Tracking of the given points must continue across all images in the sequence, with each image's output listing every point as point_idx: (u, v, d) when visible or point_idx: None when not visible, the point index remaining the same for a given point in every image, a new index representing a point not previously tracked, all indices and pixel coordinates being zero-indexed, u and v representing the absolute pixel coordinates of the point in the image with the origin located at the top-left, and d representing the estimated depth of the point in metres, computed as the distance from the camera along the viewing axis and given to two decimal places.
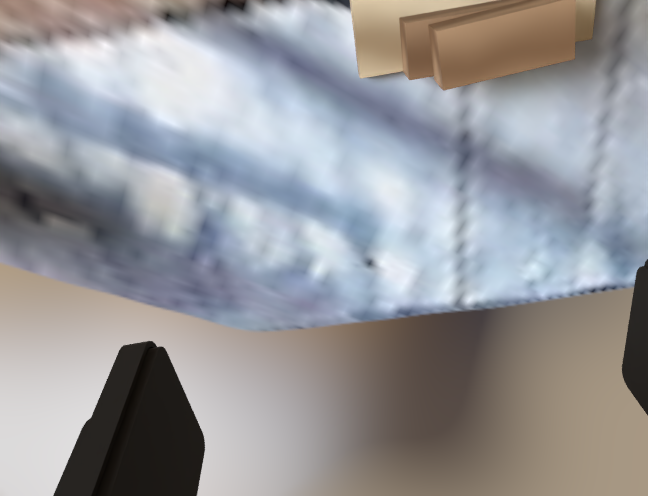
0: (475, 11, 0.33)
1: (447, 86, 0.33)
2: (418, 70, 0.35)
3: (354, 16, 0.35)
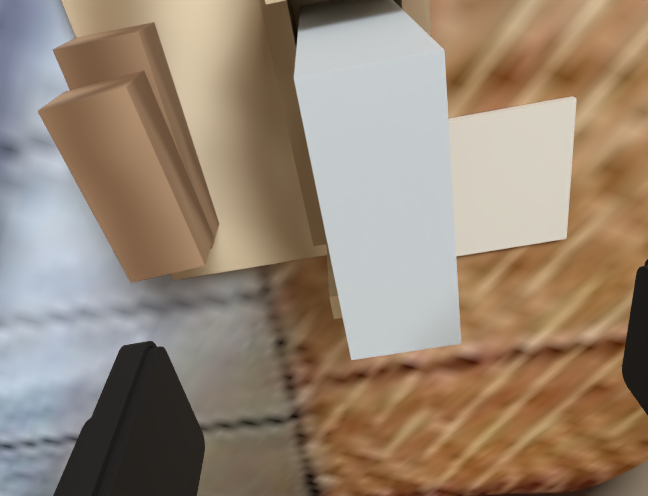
0: (174, 138, 0.23)
1: (45, 116, 0.20)
2: (72, 63, 0.21)
3: None
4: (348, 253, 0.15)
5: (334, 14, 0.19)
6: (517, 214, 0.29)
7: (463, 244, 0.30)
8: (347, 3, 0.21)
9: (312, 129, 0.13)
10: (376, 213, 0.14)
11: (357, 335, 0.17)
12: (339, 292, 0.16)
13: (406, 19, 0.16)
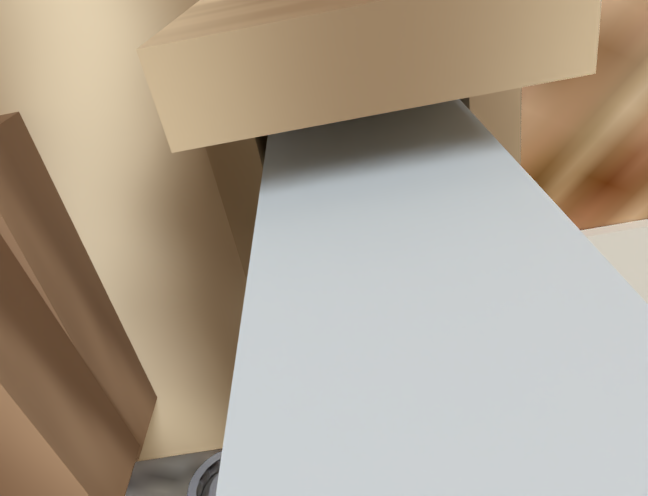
0: (58, 312, 0.13)
1: None
2: None
3: None
4: None
5: (339, 126, 0.09)
6: None
7: None
8: None
9: None
10: None
11: None
12: None
13: (529, 193, 0.06)
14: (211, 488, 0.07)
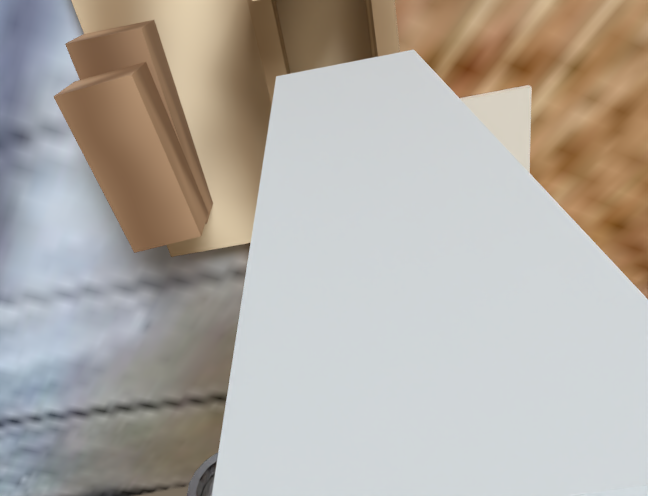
0: (173, 122, 0.26)
1: (60, 101, 0.23)
2: (82, 55, 0.24)
3: None
4: None
5: (336, 113, 0.10)
6: None
7: None
8: (357, 80, 0.12)
9: None
10: None
11: None
12: None
13: (508, 166, 0.07)
14: (211, 488, 0.07)
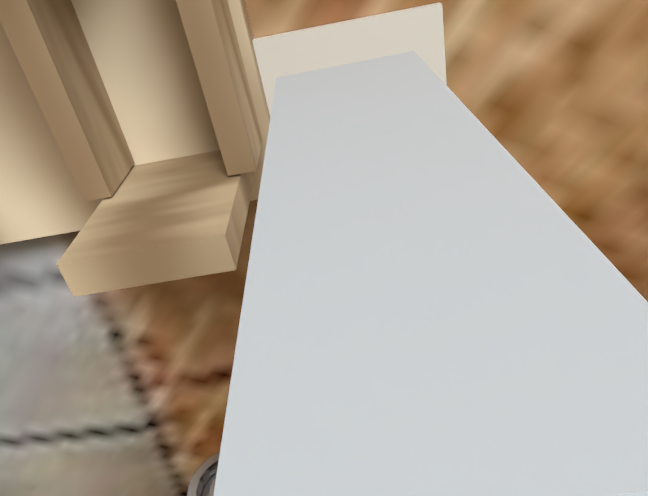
0: None
1: None
2: None
3: None
4: None
5: (336, 114, 0.10)
6: None
7: None
8: (357, 81, 0.12)
9: None
10: None
11: None
12: None
13: (509, 168, 0.07)
14: (211, 488, 0.07)
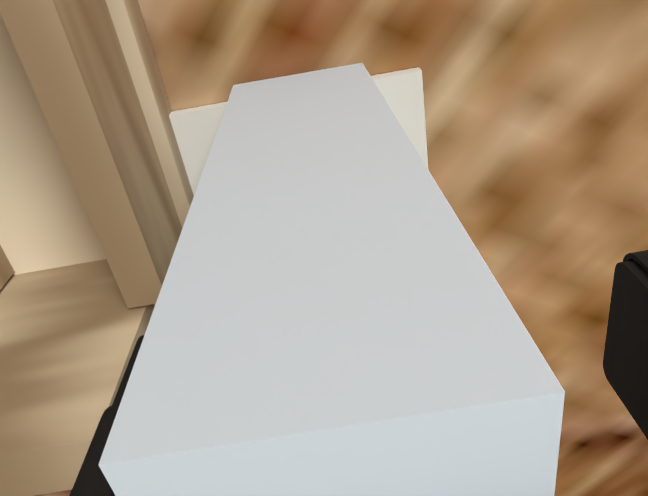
0: None
1: None
2: None
3: None
4: None
5: (279, 119, 0.11)
6: None
7: None
8: (305, 90, 0.13)
9: None
10: None
11: None
12: None
13: (415, 168, 0.08)
14: None
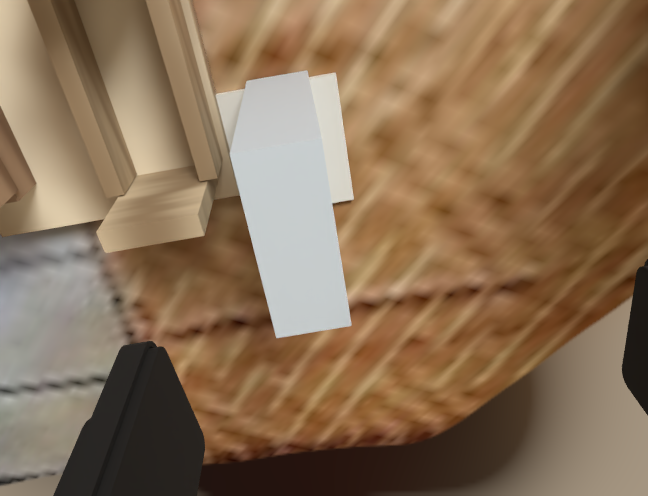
0: None
1: None
2: None
3: None
4: (270, 263, 0.23)
5: (267, 94, 0.27)
6: None
7: None
8: (279, 82, 0.29)
9: (242, 184, 0.21)
10: (286, 237, 0.22)
11: (279, 320, 0.24)
12: (265, 290, 0.23)
13: (311, 106, 0.24)
14: None
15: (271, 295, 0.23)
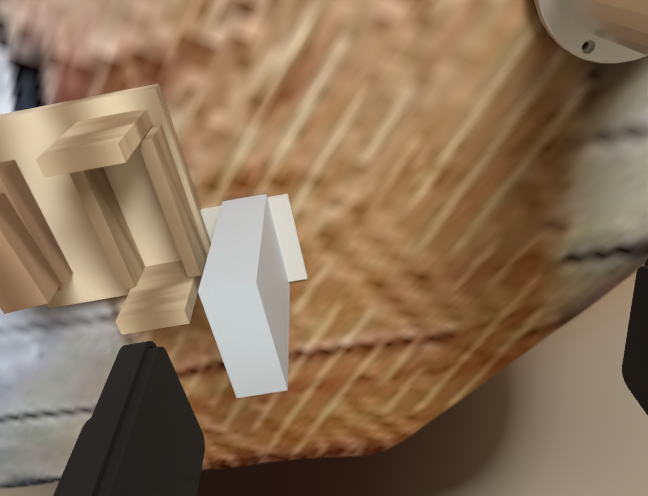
0: (28, 227, 0.39)
1: None
2: None
3: (2, 119, 0.37)
4: (229, 353, 0.34)
5: (233, 222, 0.38)
6: None
7: None
8: (244, 208, 0.40)
9: (207, 308, 0.32)
10: (238, 337, 0.33)
11: (237, 387, 0.36)
12: (226, 368, 0.35)
13: (258, 243, 0.35)
14: None
15: (231, 372, 0.35)
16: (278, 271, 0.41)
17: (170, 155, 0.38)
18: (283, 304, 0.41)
